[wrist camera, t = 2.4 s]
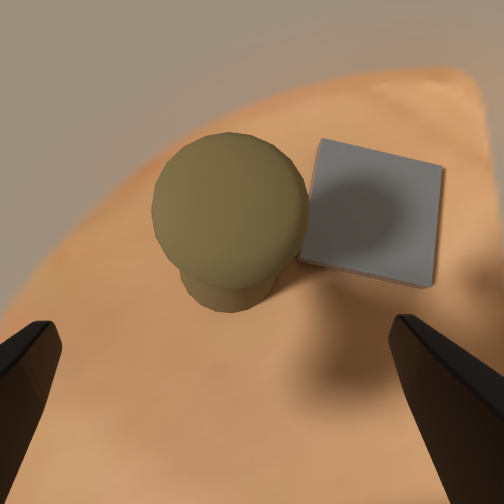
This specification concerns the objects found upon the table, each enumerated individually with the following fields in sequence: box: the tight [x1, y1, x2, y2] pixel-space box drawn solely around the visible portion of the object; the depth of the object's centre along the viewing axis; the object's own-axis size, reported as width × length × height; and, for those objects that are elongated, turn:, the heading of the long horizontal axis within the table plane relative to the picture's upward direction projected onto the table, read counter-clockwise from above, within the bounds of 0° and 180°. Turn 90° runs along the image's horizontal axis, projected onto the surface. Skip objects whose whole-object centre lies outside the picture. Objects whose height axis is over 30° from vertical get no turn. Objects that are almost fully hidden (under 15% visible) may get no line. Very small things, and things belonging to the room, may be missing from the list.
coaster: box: [297, 138, 442, 289], centre depth 21 cm, size 8×8×1 cm
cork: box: [151, 132, 309, 313], centre depth 15 cm, size 6×6×11 cm
